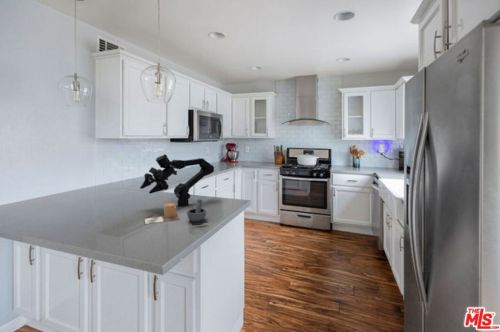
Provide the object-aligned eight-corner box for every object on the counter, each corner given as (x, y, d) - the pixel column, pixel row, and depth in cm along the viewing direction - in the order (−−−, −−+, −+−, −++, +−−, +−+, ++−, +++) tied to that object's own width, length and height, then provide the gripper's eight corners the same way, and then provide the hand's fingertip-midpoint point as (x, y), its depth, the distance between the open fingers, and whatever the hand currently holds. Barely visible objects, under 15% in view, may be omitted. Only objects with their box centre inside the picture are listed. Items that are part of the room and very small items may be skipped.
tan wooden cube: (174, 213, 149) (174, 202, 148) (176, 216, 144) (176, 205, 143) (164, 214, 146) (163, 203, 146) (165, 217, 141) (164, 206, 140)
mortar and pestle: (202, 227, 130) (201, 204, 129) (184, 226, 132) (184, 203, 130) (209, 220, 141) (208, 198, 140) (193, 219, 143) (192, 198, 141)
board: (176, 215, 150) (176, 204, 150) (180, 222, 138) (180, 210, 137) (143, 219, 143) (142, 208, 142) (144, 227, 130) (143, 215, 130)
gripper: (150, 160, 157) (129, 176, 148) (169, 167, 146) (147, 185, 138) (158, 173, 164) (138, 189, 155) (176, 181, 153) (156, 199, 144)
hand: (144, 190), depth 148 cm, fingers open, 9 cm apart
